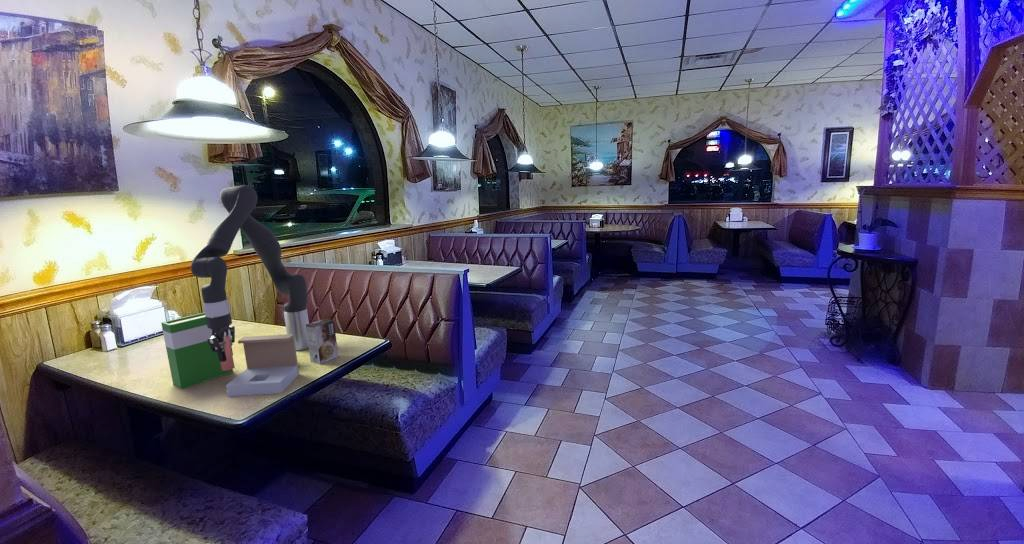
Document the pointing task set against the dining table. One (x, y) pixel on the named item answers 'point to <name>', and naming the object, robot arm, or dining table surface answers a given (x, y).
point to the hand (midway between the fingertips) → (226, 358)
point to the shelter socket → (266, 365)
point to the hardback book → (190, 351)
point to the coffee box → (322, 341)
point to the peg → (227, 356)
